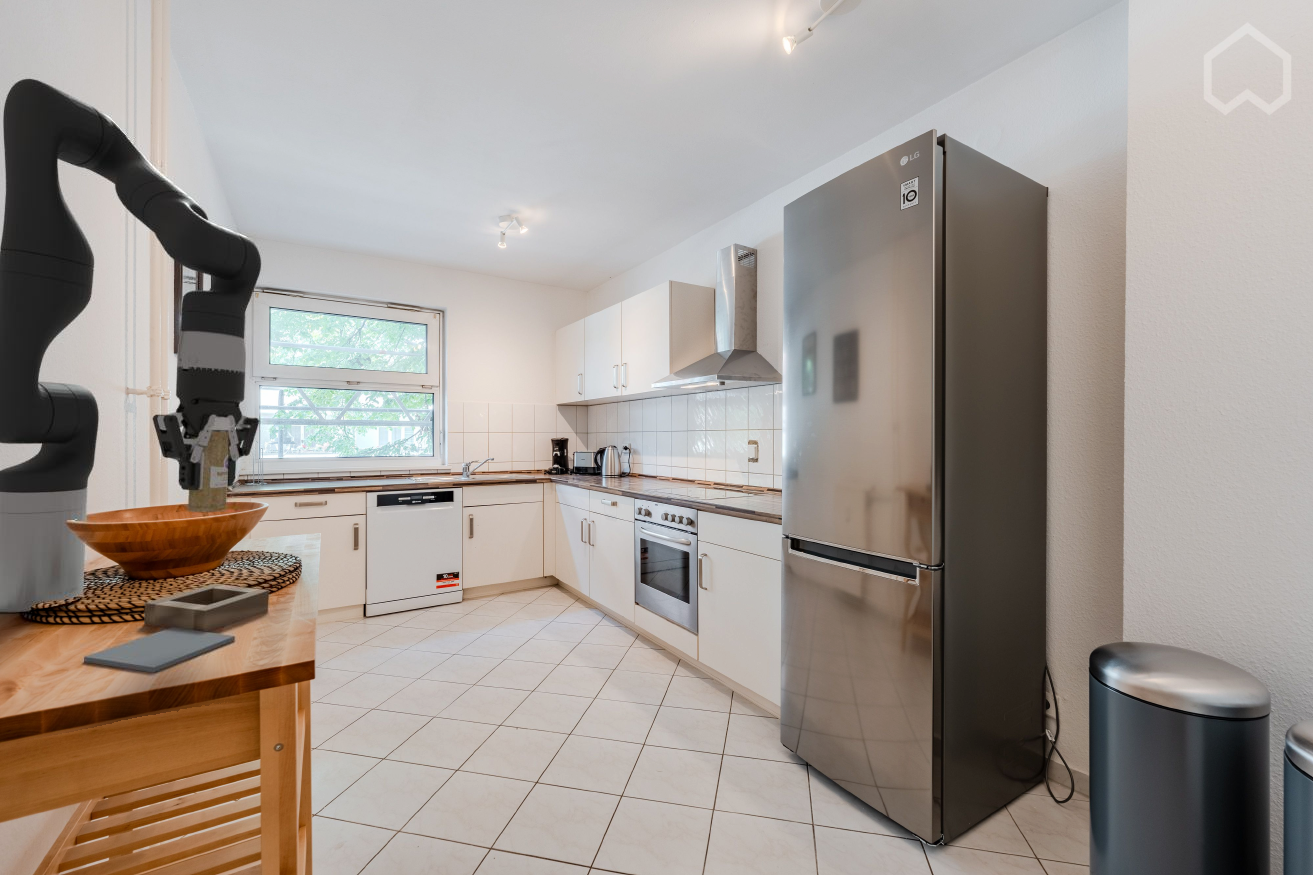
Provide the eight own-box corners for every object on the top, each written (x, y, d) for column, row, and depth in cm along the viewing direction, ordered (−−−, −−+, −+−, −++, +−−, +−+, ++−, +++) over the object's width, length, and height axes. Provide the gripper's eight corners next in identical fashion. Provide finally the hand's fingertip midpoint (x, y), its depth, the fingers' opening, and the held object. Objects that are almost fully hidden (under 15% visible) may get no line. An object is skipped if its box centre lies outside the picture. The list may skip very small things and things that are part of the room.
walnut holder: (144, 624, 77) (145, 602, 76) (213, 602, 86) (214, 583, 86) (204, 632, 75) (205, 610, 75) (268, 609, 85) (268, 590, 85)
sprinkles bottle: (229, 511, 78) (233, 417, 78) (187, 514, 75) (191, 415, 74) (225, 507, 81) (228, 416, 81) (184, 509, 78) (188, 415, 78)
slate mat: (83, 661, 65) (84, 656, 65) (172, 631, 74) (172, 627, 74) (153, 672, 63) (153, 667, 63) (234, 640, 73) (234, 635, 73)
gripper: (235, 372, 85) (231, 482, 85) (134, 360, 71) (129, 491, 71) (277, 374, 84) (273, 485, 84) (183, 361, 70) (178, 495, 70)
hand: (207, 487), depth 78 cm, fingers closed on sprinkles bottle, 4 cm apart
